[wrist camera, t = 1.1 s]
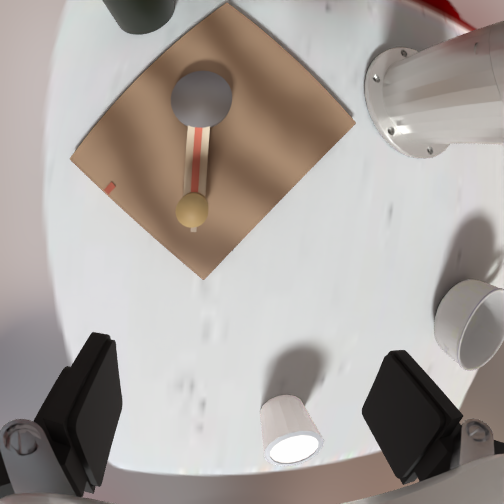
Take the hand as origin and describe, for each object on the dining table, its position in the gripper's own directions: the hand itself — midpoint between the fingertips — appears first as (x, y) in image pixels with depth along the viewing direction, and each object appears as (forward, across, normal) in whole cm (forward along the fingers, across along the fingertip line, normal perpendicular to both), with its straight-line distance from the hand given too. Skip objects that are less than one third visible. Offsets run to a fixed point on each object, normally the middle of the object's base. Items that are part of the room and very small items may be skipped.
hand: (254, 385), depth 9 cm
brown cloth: (+20, +3, -9) cm, 22 cm away
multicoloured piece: (+19, +4, -8) cm, 21 cm away
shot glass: (+20, -9, +21) cm, 30 cm away
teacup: (+21, -32, +6) cm, 39 cm away
